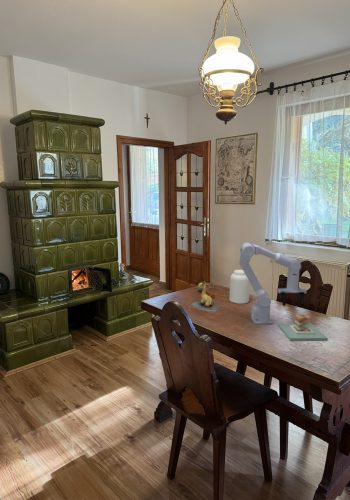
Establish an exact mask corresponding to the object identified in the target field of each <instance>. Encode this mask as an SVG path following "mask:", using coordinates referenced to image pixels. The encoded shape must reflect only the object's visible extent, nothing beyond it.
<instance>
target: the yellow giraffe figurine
mask: <svg viewBox="0 0 350 500" xmlns="http://www.w3.org/2000/svg"><path fill="white" fill-rule="evenodd" d="M205 285H206V286H205ZM206 287H207V282H206V281H205V280H204V281H202V282H199V283H198V284H197V290H198V289H199V290H200V289H203V291H202V292H201V295H200V298H201V299H199V300H198V301H195V302H193V303H192V304H190V306H188V308H192V306H193V308H196V310H199V311H205V312H217V311H218V310H219V309H221V307H218V306H222V305H223V304H221V303H218V302H214V301H213V299H212V298H211V297H210V296H209V295H208V294H207V293H206ZM199 290H198V291H199ZM213 306H214V307H213ZM210 307H211V308H210ZM212 307H213V308H212Z"/></svg>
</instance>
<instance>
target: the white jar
mask: <svg viewBox="0 0 350 500" xmlns="http://www.w3.org/2000/svg"><path fill="white" fill-rule="evenodd" d="M250 287H251V284H250V282H249V280H248V278H247V276H246V275H245V273H244V271H243V269H234V271H233V272H232V273H231V275H230V277H229V297H228V299H229V301H230V302H231V303H233V304H247V303H249V301H250V292H251V291H250Z"/></svg>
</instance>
